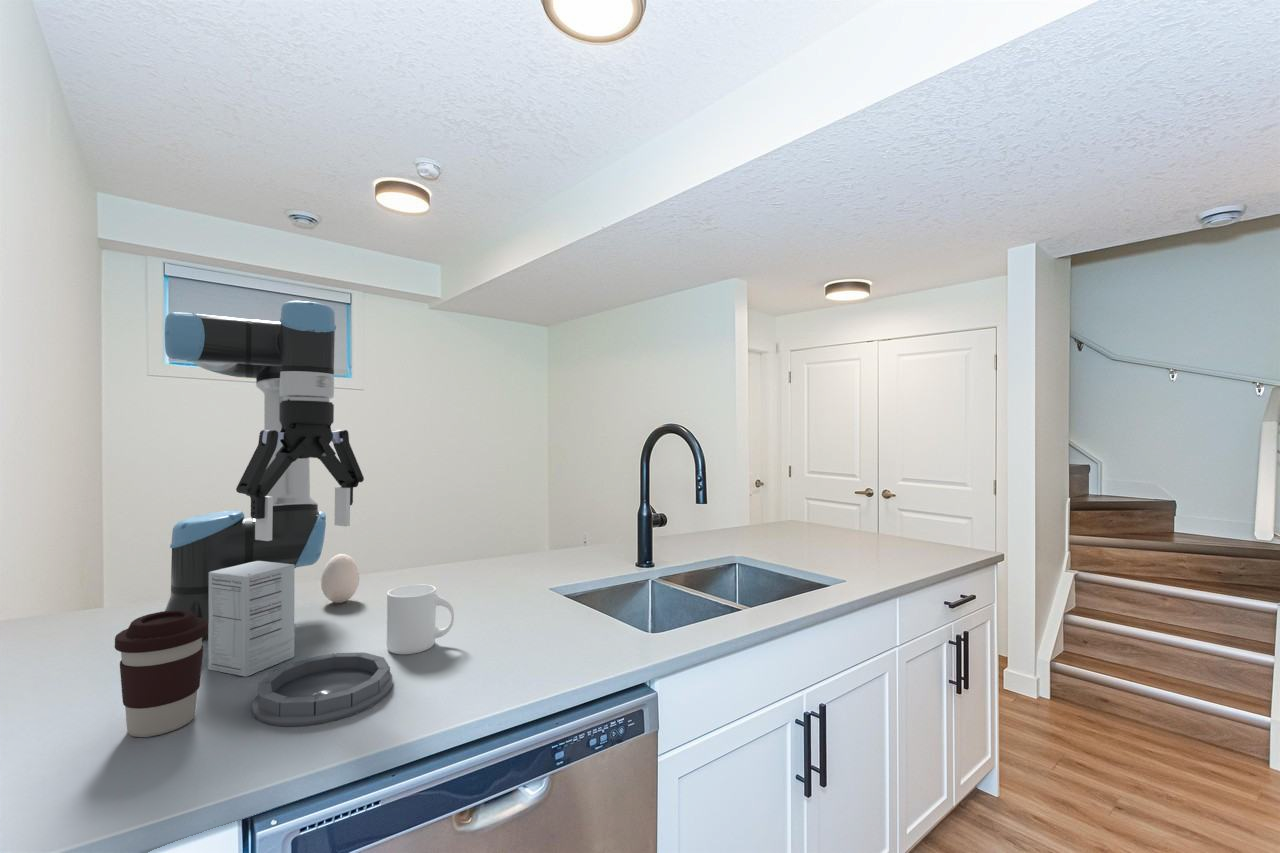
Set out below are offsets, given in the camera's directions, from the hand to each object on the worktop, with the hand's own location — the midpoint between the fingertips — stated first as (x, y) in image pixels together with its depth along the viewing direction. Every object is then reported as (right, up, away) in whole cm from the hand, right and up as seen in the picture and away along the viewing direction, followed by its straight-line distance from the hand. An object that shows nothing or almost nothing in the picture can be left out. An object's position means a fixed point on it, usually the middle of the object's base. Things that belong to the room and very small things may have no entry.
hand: (305, 532), depth 92 cm
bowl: (+5, -25, -3) cm, 25 cm away
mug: (+12, -25, +17) cm, 33 cm away
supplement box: (-14, -25, +8) cm, 30 cm away
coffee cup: (-13, -25, -12) cm, 30 cm away
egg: (-17, -25, +43) cm, 52 cm away
